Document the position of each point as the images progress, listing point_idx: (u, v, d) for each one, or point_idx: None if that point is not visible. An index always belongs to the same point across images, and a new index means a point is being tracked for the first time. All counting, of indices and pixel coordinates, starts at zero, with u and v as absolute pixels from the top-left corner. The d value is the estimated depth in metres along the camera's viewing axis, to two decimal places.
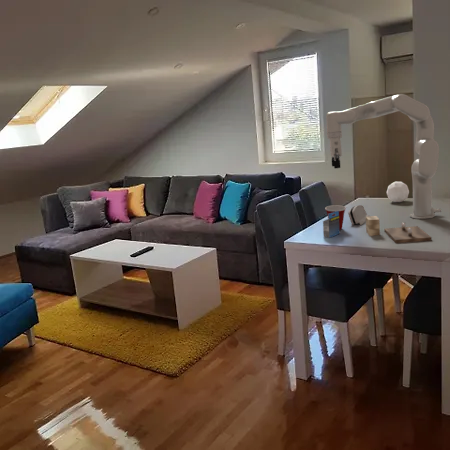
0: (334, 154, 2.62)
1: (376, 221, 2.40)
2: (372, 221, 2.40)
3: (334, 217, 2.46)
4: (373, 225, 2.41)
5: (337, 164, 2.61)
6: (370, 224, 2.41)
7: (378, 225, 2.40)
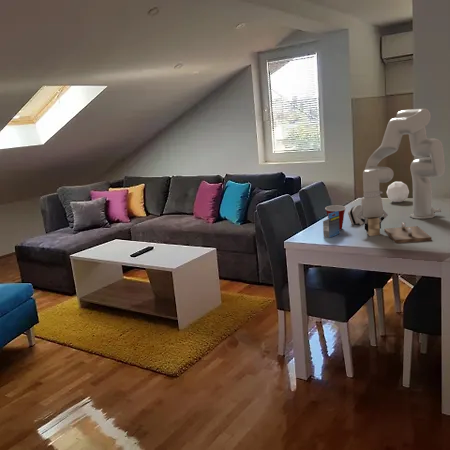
0: None
1: (376, 221, 2.40)
2: (372, 221, 2.40)
3: (334, 217, 2.46)
4: (373, 225, 2.41)
5: None
6: (370, 224, 2.41)
7: (378, 225, 2.40)
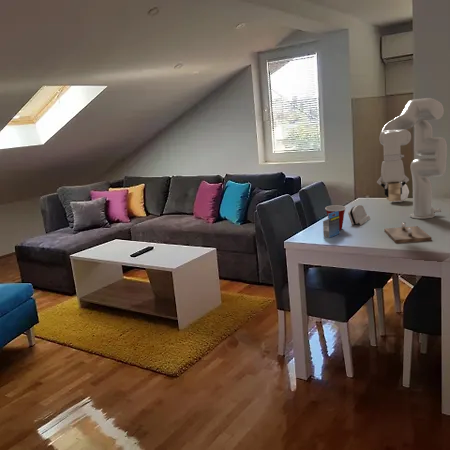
0: None
1: (397, 186, 2.30)
2: (392, 186, 2.30)
3: (334, 217, 2.46)
4: (393, 190, 2.30)
5: None
6: (390, 189, 2.30)
7: (399, 190, 2.30)
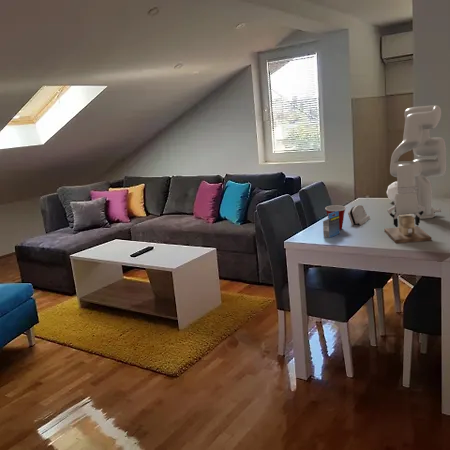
0: None
1: (411, 220, 2.30)
2: (407, 220, 2.30)
3: (334, 217, 2.46)
4: (408, 224, 2.30)
5: None
6: (404, 223, 2.30)
7: (413, 224, 2.30)
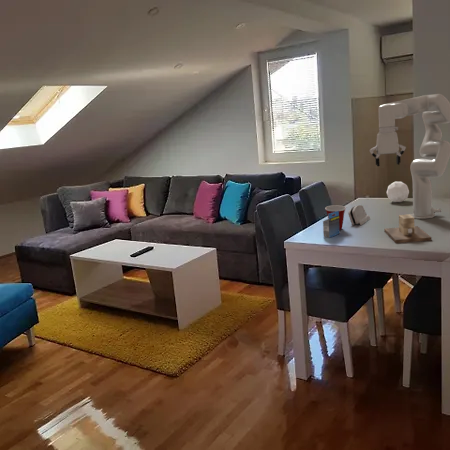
0: None
1: (411, 220, 2.30)
2: (407, 220, 2.30)
3: (334, 217, 2.46)
4: (408, 224, 2.30)
5: None
6: (404, 223, 2.30)
7: (413, 224, 2.30)
